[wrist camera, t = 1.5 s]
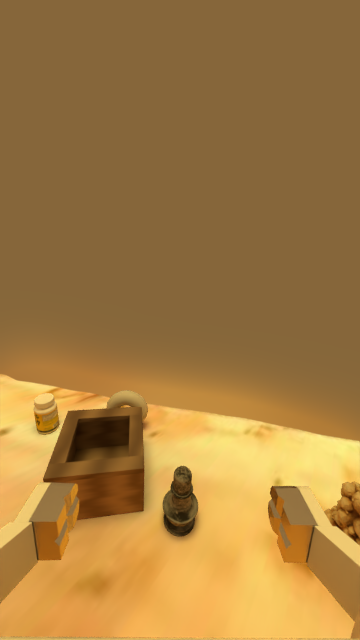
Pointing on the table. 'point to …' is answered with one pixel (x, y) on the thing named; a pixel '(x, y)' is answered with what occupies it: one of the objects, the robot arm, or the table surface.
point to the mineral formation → (347, 511)
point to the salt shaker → (180, 504)
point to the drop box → (101, 460)
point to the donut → (128, 401)
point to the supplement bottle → (46, 413)
